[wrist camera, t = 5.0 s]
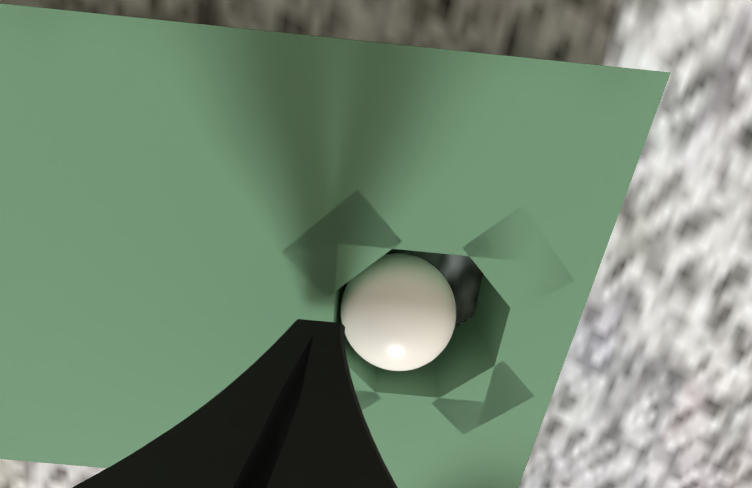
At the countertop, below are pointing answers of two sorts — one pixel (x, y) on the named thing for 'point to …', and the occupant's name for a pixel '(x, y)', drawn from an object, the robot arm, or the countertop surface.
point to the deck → (291, 225)
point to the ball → (398, 312)
